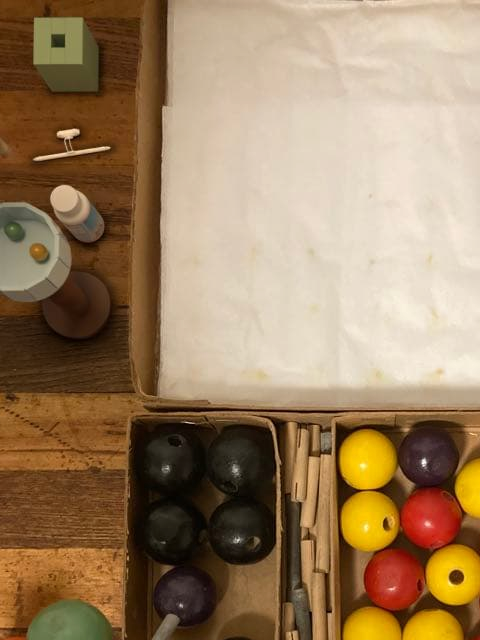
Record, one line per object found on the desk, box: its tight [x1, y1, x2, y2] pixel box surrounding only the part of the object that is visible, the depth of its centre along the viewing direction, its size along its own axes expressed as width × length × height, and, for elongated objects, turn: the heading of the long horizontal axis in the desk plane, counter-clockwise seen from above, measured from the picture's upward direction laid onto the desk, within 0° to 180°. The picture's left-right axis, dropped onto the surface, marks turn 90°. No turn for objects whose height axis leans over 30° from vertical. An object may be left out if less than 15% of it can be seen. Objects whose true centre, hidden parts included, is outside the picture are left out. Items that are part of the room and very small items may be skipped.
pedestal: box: [41, 270, 113, 340], centre depth 140 cm, size 12×12×21 cm
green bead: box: [4, 221, 23, 240], centre depth 128 cm, size 3×3×3 cm
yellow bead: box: [29, 243, 48, 261], centre depth 127 cm, size 3×3×3 cm
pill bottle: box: [49, 184, 105, 243], centre depth 146 cm, size 6×6×11 cm
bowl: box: [0, 201, 72, 303], centre depth 127 cm, size 13×13×5 cm
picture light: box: [32, 128, 111, 162], centre depth 151 cm, size 14×4×2 cm, turn 100°
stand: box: [32, 17, 100, 93], centre depth 149 cm, size 8×8×8 cm
